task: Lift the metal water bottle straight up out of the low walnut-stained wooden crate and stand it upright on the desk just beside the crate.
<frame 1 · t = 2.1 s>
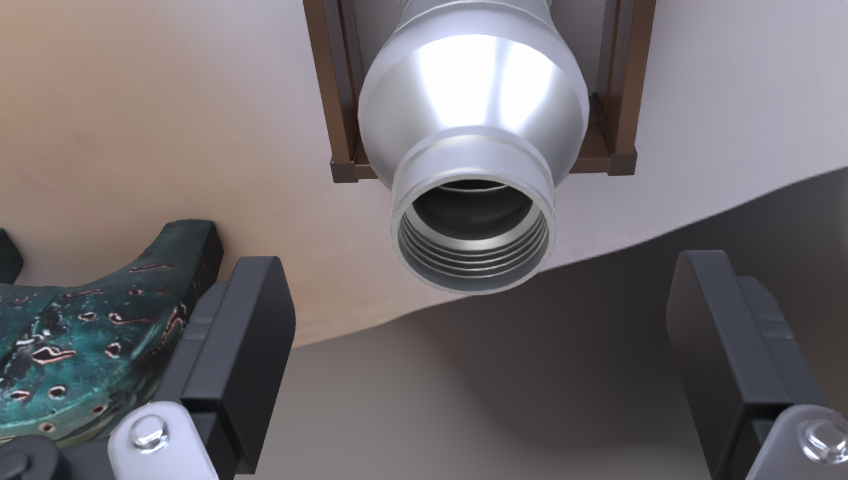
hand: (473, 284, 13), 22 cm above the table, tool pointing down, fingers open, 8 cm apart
ceramic cat: (86, 237, 43), on the table
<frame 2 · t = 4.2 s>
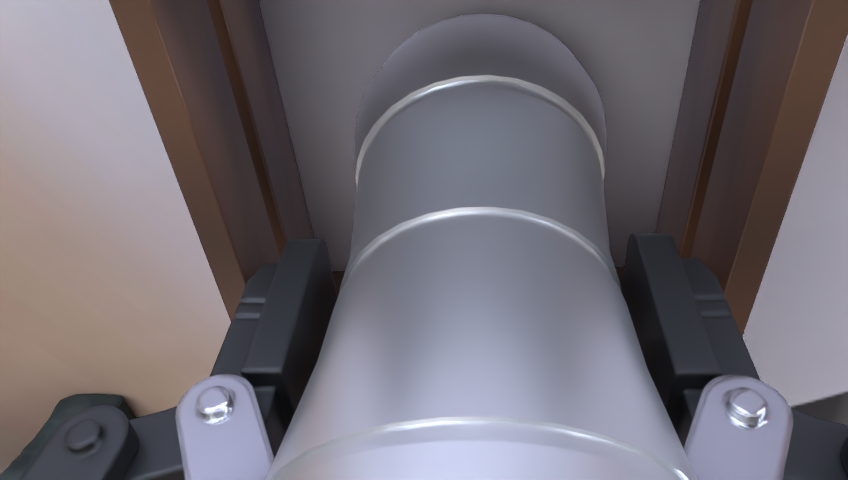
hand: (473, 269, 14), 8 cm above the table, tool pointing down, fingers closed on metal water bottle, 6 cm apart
metal water bottle: (476, 94, 20), resting in crate, touching gripper
crate: (476, 97, 20), on the table
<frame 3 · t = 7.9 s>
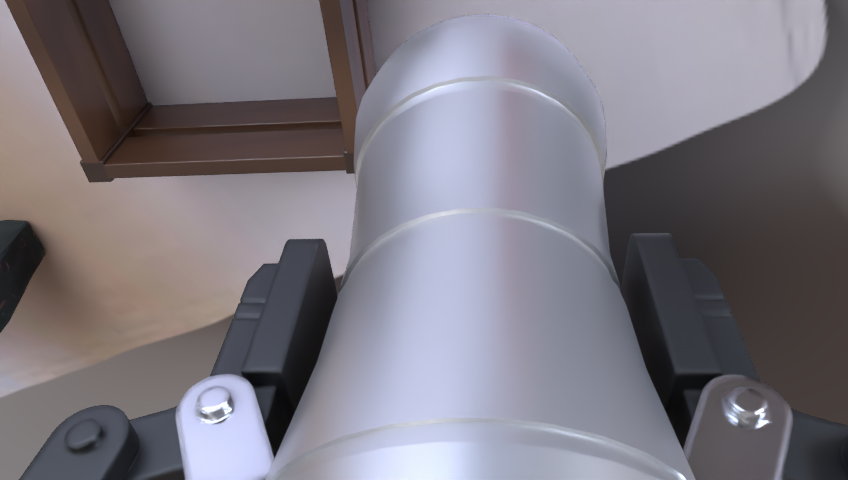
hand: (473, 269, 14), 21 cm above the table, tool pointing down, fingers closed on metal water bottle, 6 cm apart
metal water bottle: (476, 95, 20), point 13 cm above the table, touching gripper
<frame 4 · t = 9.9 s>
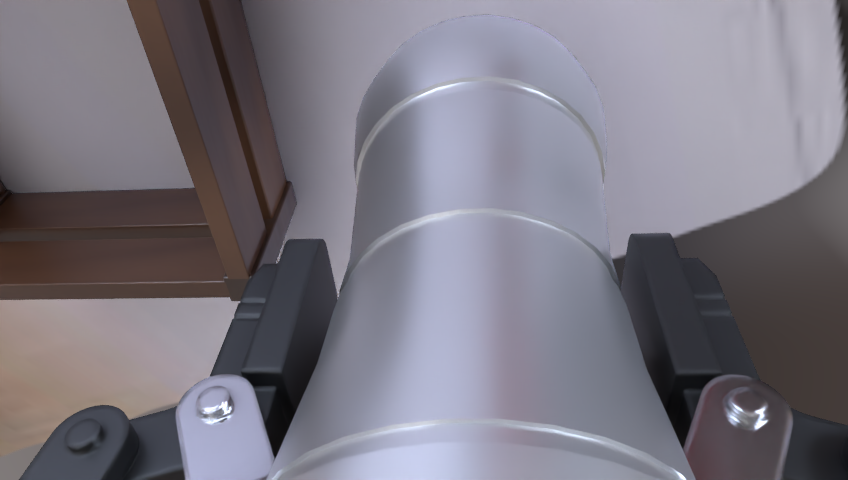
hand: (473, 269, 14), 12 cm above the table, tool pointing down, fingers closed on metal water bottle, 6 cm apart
metal water bottle: (476, 95, 20), point 4 cm above the table, touching gripper
crate: (68, 33, 24), on the table
when the fingers open (8 cm above the table, at t = 11.6 s): metal water bottle stays where it is, on the table.
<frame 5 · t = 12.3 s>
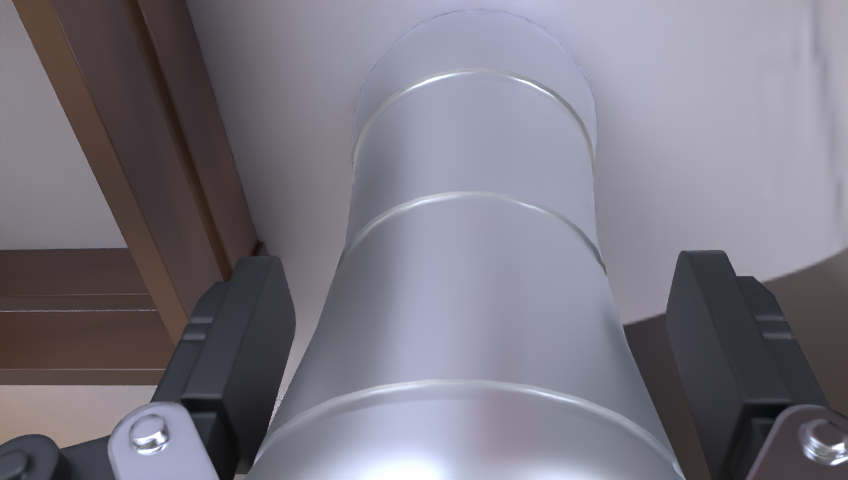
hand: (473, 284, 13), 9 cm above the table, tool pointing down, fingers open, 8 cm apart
metal water bottle: (472, 88, 20), on the table
crate: (3, 81, 21), on the table
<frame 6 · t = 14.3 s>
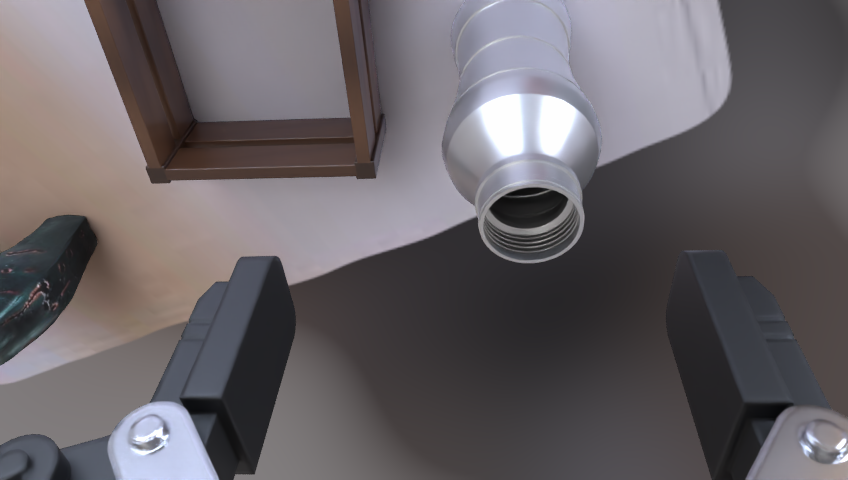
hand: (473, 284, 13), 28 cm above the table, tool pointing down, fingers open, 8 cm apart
metal water bottle: (508, 19, 39), on the table
crate: (258, 15, 39), on the table
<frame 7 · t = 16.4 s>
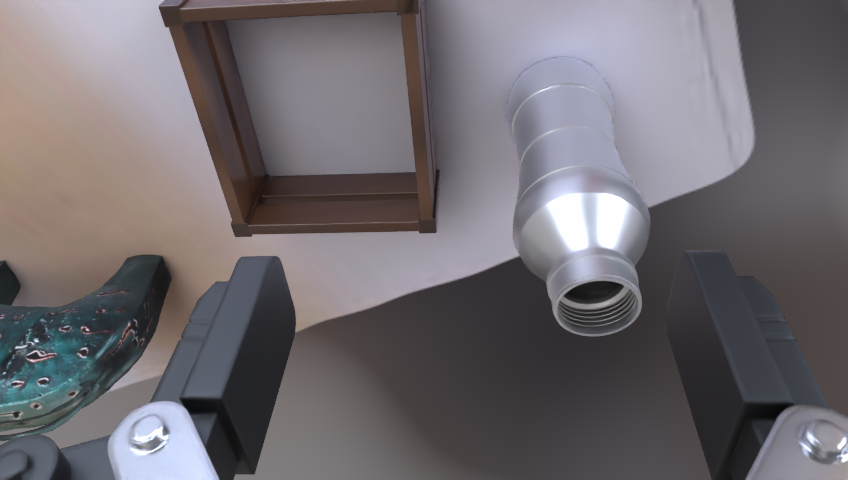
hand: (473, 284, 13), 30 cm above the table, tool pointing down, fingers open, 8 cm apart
metal water bottle: (554, 90, 43), on the table
ceramic cat: (68, 267, 56), on the table
crate: (330, 87, 44), on the table
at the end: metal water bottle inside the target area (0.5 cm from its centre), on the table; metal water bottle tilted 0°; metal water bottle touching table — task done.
